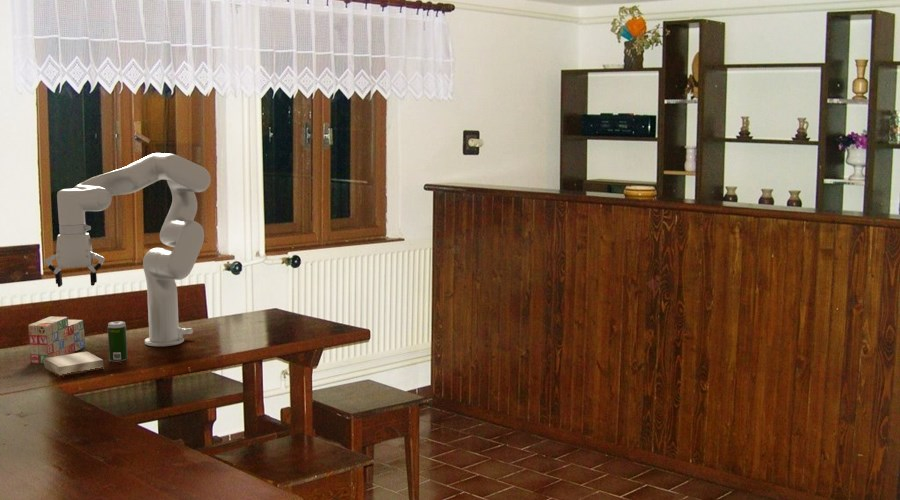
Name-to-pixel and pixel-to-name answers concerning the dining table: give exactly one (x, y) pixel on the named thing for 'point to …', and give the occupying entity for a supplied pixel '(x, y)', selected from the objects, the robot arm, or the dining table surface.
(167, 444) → the dining table surface
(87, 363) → the birch base block
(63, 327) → the stack of blocks
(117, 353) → the beer can
